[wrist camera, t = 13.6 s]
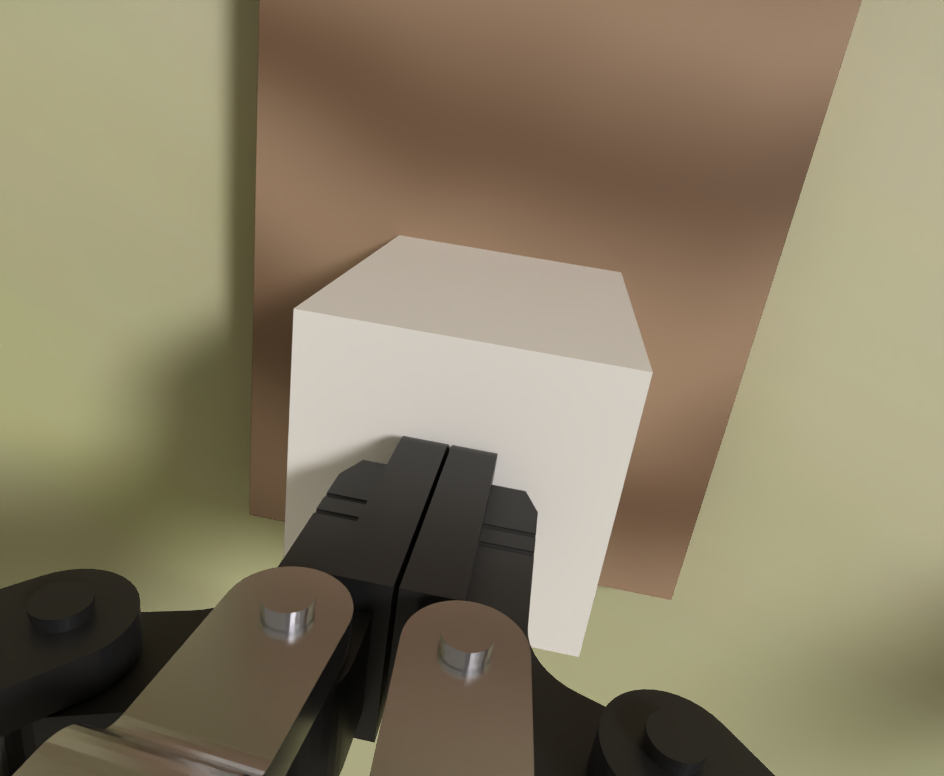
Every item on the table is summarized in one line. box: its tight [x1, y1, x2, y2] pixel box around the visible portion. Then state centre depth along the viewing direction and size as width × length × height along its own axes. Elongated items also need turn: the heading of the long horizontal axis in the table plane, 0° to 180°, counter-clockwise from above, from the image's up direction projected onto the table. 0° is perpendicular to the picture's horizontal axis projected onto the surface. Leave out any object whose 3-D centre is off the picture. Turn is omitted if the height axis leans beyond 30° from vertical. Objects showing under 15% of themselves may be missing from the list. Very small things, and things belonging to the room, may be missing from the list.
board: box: [249, 0, 862, 600], centre depth 15 cm, size 23×12×2 cm, turn 172°
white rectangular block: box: [283, 235, 653, 657], centre depth 14 cm, size 5×5×7 cm
